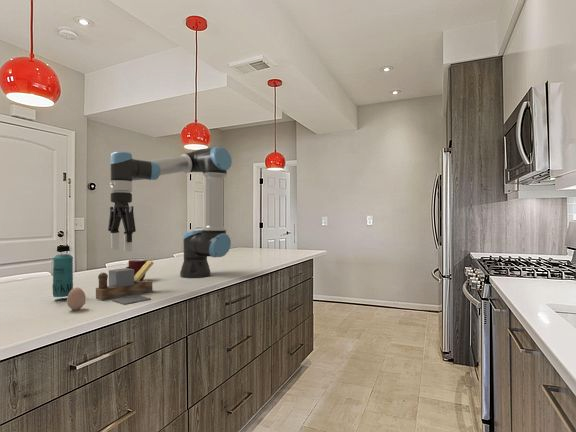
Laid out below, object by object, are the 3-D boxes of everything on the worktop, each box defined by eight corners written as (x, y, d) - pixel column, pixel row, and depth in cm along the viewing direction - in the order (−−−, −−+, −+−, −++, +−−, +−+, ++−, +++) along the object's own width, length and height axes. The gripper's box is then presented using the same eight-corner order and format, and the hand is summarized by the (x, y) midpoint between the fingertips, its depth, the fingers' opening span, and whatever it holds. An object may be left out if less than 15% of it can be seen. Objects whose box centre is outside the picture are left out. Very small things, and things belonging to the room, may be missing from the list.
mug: (131, 284, 162) (131, 262, 162) (120, 282, 166) (119, 261, 166) (150, 280, 171) (150, 259, 171) (139, 279, 175) (139, 258, 175)
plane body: (145, 289, 149) (145, 266, 149) (152, 291, 146) (152, 267, 146) (95, 298, 134) (95, 272, 134) (101, 300, 130) (101, 273, 130)
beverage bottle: (54, 298, 134) (54, 245, 134) (74, 296, 137) (74, 244, 137) (50, 302, 128) (50, 246, 128) (72, 300, 131) (71, 245, 131)
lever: (131, 282, 144) (148, 262, 150) (136, 284, 141) (154, 263, 147) (129, 281, 143) (146, 260, 149) (134, 282, 141) (152, 261, 146)
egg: (86, 310, 117) (86, 288, 117) (67, 312, 114) (66, 289, 114) (85, 307, 122) (85, 285, 122) (66, 309, 119) (66, 287, 119)
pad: (138, 296, 138) (138, 295, 138) (150, 299, 132) (150, 298, 132) (111, 301, 130) (111, 299, 130) (124, 304, 124) (124, 303, 124)
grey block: (126, 283, 143) (126, 268, 143) (134, 284, 140) (134, 269, 140) (108, 285, 138) (108, 270, 138) (116, 287, 134) (116, 271, 134)
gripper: (98, 193, 143) (98, 249, 143) (126, 190, 129) (126, 252, 129) (117, 193, 149) (117, 247, 149) (145, 191, 135) (145, 251, 135)
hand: (121, 250), depth 139 cm, fingers open, 9 cm apart
